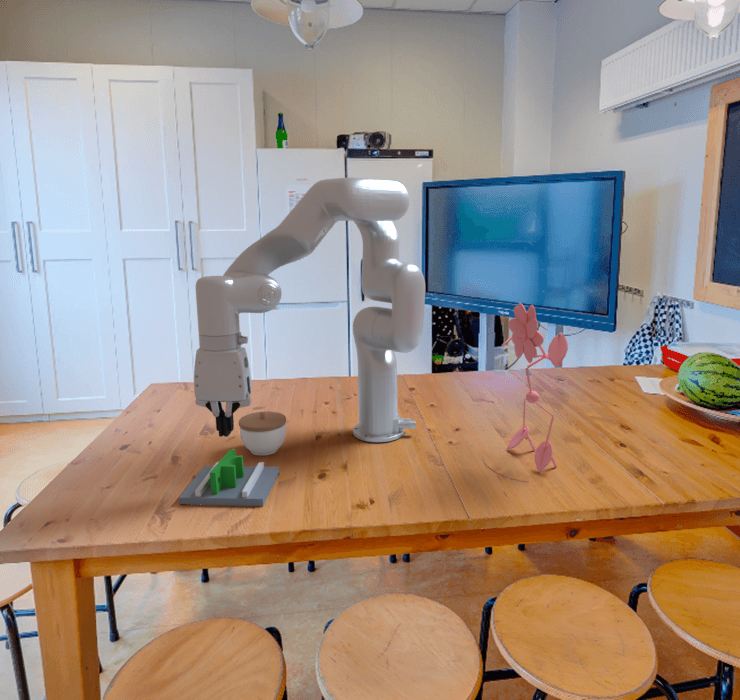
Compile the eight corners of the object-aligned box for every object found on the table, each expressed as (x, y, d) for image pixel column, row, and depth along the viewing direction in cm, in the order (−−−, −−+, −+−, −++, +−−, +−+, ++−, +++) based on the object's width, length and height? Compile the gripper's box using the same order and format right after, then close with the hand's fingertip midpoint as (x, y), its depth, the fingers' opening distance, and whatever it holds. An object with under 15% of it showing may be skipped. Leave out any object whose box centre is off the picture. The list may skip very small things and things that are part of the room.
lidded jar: (247, 441, 139) (244, 404, 136) (291, 441, 138) (289, 404, 136) (235, 460, 128) (232, 420, 126) (283, 460, 128) (281, 420, 126)
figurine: (520, 436, 139) (524, 292, 130) (582, 483, 114) (592, 311, 106) (461, 444, 135) (461, 297, 127) (512, 495, 111) (516, 317, 103)
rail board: (279, 473, 121) (278, 461, 120) (263, 506, 108) (262, 493, 107) (204, 472, 122) (203, 460, 121) (179, 504, 109) (178, 491, 108)
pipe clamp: (230, 495, 109) (228, 473, 108) (211, 495, 109) (209, 472, 108) (248, 469, 120) (247, 449, 119) (231, 469, 120) (229, 448, 119)
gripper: (263, 338, 111) (267, 428, 115) (188, 337, 112) (194, 426, 116) (254, 347, 104) (258, 442, 108) (173, 346, 105) (180, 440, 109)
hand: (225, 434), depth 112 cm, fingers closed
